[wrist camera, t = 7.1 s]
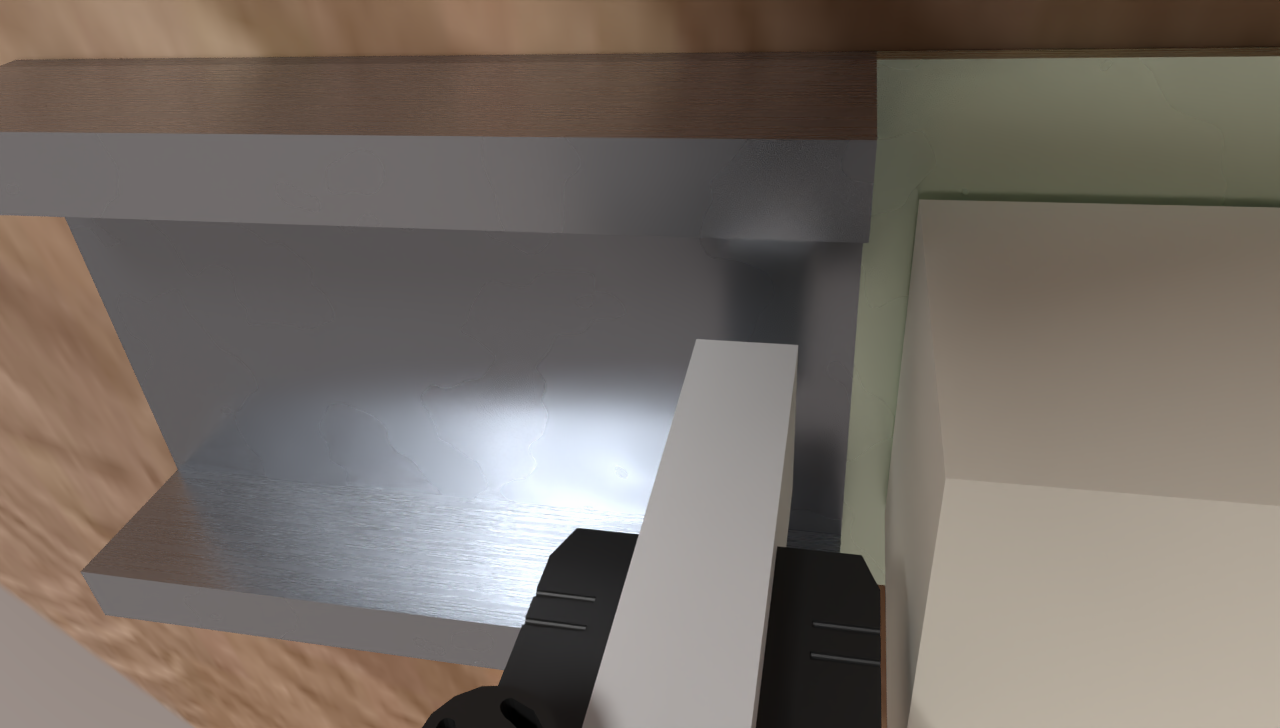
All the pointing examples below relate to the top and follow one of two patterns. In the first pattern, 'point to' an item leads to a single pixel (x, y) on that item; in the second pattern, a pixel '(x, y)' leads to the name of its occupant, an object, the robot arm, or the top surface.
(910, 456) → the block
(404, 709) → the top surface
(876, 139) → the chute
